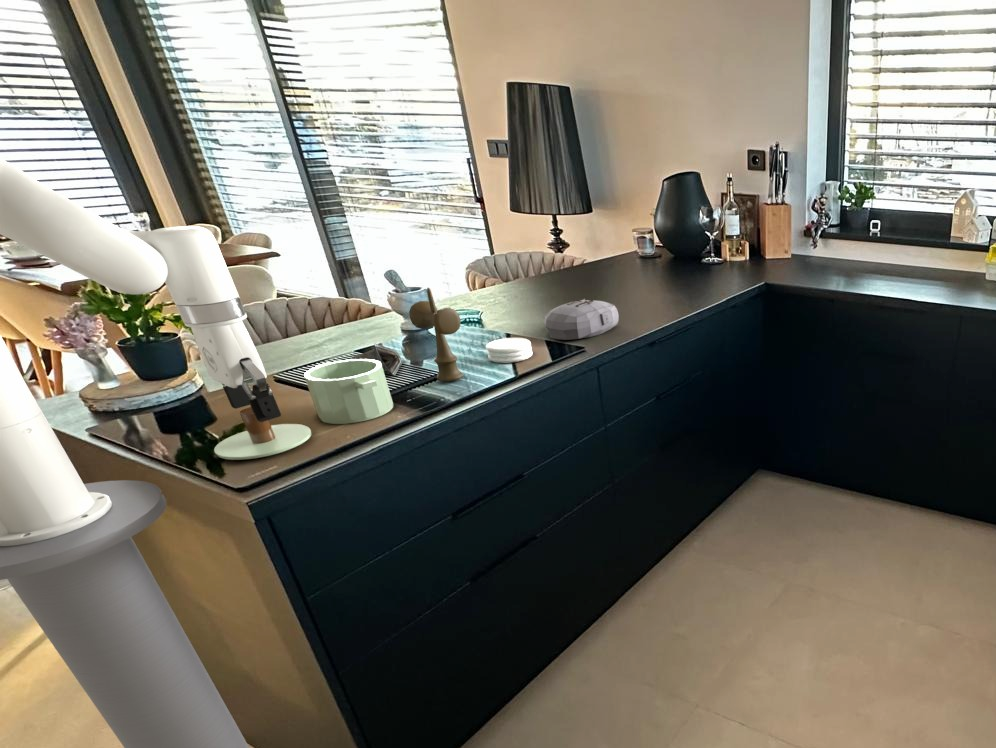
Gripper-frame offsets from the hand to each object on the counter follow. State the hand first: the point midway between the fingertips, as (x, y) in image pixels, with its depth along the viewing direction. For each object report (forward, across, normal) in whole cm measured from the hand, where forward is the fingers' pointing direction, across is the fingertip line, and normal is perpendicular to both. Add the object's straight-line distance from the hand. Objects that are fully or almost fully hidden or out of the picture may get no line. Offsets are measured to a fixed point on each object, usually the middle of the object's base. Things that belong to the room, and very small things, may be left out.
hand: (256, 412), depth 104 cm
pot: (+6, -3, +15) cm, 17 cm away
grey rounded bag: (+8, -11, +76) cm, 77 cm away
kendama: (+7, -5, +35) cm, 36 cm away
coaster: (+7, -8, +52) cm, 53 cm away
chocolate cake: (+7, -23, +29) cm, 38 cm away
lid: (+5, 0, -1) cm, 5 cm away
